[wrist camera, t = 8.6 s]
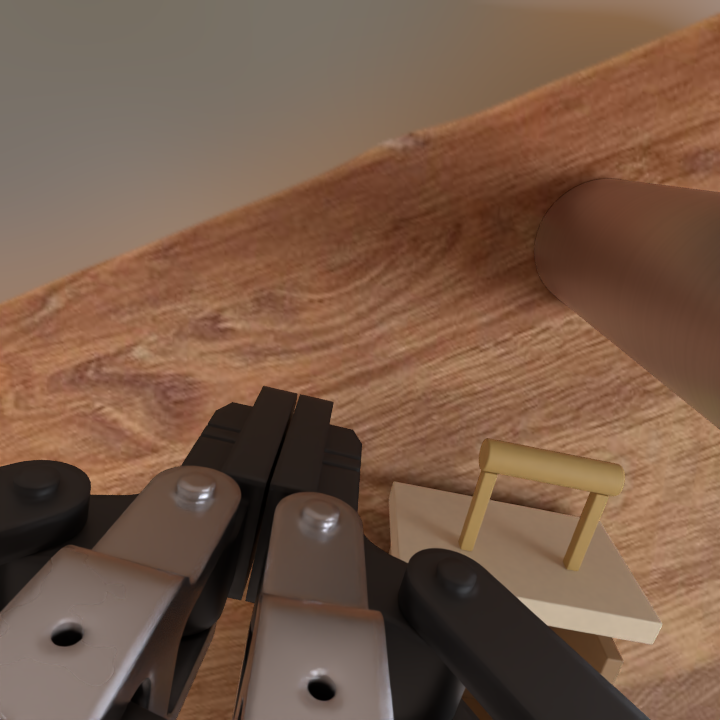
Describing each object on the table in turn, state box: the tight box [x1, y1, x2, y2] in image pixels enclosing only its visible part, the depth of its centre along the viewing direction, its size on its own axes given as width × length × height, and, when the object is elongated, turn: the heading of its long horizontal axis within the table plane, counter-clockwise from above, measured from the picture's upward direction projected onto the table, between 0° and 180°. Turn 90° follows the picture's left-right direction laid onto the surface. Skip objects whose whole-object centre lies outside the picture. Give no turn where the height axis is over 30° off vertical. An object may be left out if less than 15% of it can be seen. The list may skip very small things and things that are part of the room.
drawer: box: [389, 438, 662, 720], centre depth 29 cm, size 19×11×7 cm, turn 168°
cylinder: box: [534, 179, 720, 429], centre depth 19 cm, size 6×6×17 cm
